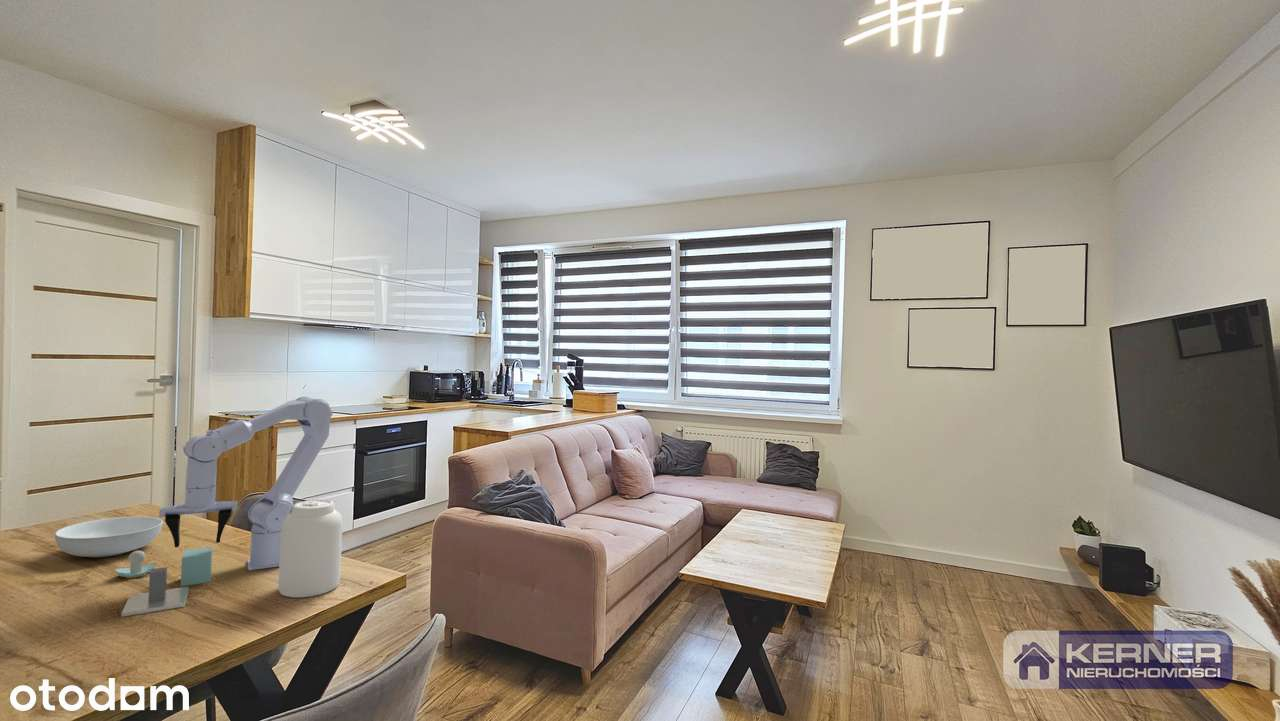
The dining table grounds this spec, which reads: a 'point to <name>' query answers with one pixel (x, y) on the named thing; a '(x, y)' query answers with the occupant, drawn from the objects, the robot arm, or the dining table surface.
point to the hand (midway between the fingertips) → (197, 543)
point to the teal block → (196, 566)
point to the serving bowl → (108, 536)
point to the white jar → (310, 549)
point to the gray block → (156, 596)
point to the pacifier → (135, 566)
